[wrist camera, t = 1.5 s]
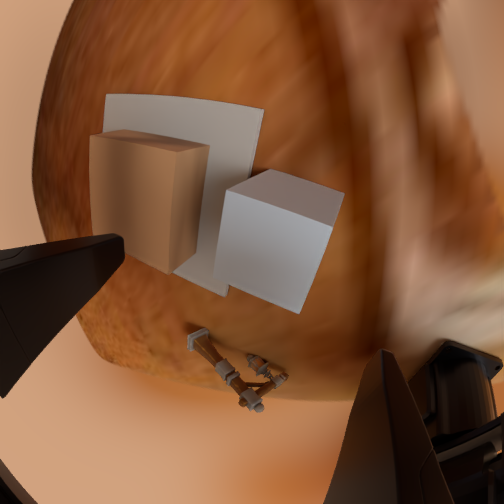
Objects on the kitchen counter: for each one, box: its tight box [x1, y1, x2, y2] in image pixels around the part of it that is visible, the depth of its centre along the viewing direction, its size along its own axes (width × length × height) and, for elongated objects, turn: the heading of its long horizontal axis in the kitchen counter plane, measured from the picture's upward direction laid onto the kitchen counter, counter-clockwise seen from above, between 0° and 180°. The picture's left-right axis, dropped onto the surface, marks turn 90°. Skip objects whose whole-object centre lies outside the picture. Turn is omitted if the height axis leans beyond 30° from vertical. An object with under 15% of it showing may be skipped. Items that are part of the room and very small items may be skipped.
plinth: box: [89, 129, 210, 275], centre depth 16 cm, size 7×7×3 cm
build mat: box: [103, 94, 264, 297], centre depth 17 cm, size 12×12×1 cm
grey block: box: [213, 169, 345, 314], centre depth 12 cm, size 4×4×5 cm
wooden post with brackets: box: [187, 328, 289, 412], centre depth 20 cm, size 2×8×4 cm, turn 78°
